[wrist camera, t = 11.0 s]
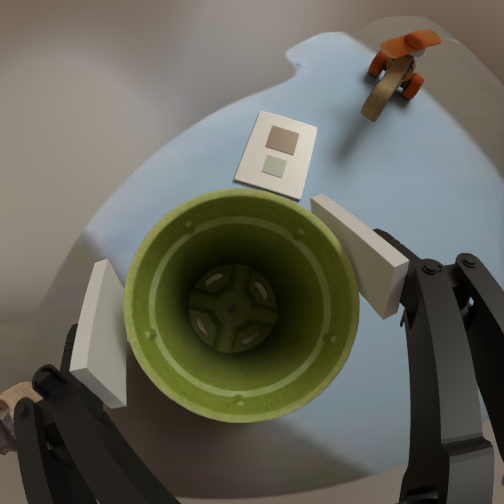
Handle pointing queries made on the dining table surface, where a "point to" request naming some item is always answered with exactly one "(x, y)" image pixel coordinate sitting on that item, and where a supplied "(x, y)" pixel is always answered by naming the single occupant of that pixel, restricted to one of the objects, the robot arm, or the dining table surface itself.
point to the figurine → (12, 413)
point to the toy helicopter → (397, 69)
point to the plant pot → (241, 305)
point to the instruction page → (277, 155)
